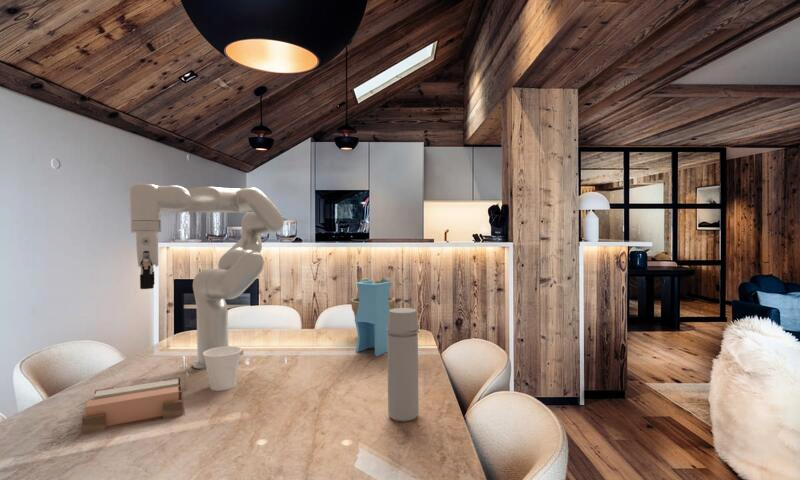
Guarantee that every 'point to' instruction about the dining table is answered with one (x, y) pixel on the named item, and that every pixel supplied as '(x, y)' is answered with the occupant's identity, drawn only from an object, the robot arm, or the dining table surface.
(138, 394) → the terracotta strip
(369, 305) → the blue arched stand
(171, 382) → the grey strip
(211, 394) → the dining table surface
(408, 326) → the water bottle
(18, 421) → the dining table surface
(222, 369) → the cup
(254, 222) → the robot arm
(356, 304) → the potted plant
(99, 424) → the rack
